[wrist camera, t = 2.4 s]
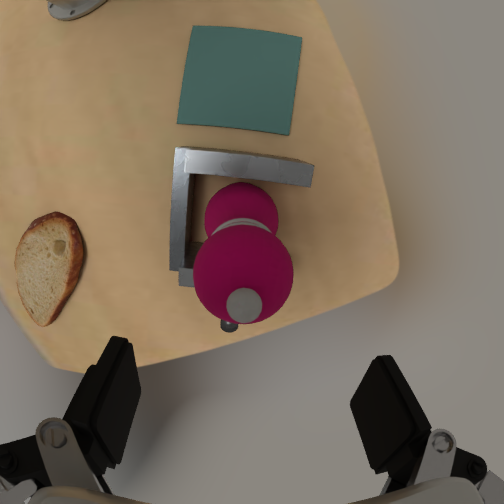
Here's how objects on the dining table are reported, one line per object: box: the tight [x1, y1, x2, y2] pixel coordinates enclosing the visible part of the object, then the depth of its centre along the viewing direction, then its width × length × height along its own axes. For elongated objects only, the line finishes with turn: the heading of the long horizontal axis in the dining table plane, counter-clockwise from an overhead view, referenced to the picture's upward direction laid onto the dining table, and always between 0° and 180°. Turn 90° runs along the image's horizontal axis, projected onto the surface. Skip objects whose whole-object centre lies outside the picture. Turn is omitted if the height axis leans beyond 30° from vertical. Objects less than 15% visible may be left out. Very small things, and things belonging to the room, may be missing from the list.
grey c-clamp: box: [170, 146, 314, 332], centre depth 29 cm, size 20×13×7 cm, turn 173°
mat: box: [177, 26, 302, 135], centre depth 25 cm, size 12×12×1 cm
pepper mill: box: [193, 182, 293, 324], centre depth 22 cm, size 7×7×20 cm
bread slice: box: [15, 212, 83, 327], centre depth 32 cm, size 18×18×4 cm
